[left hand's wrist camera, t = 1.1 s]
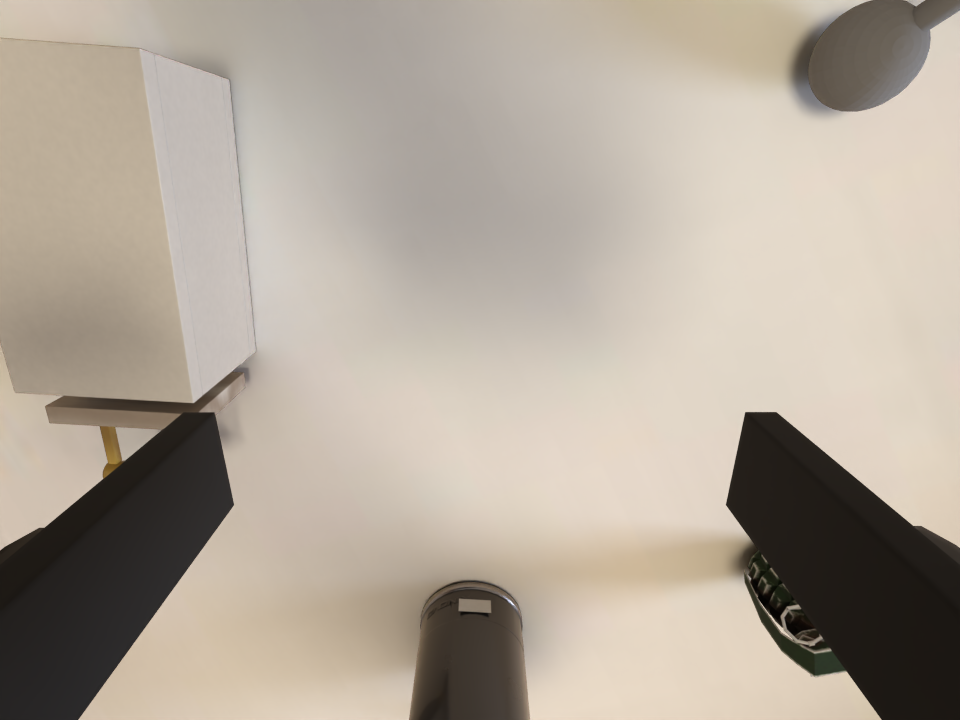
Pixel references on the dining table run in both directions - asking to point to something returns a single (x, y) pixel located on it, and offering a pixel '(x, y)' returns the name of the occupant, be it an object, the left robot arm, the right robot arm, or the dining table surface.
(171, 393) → the cabinet
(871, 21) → the molecular model
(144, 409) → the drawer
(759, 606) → the grenade
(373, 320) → the dining table surface
